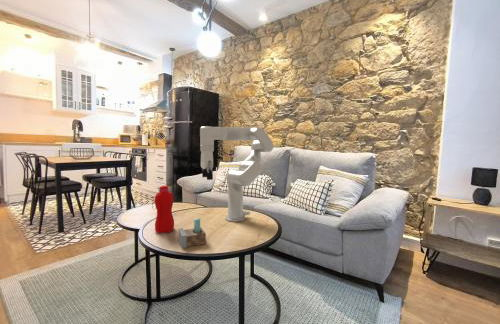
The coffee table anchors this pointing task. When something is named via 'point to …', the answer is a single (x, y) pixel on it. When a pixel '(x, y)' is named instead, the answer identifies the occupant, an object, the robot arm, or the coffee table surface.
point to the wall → (182, 238)
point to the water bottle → (164, 210)
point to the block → (195, 237)
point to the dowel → (197, 225)
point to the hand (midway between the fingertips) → (207, 178)
